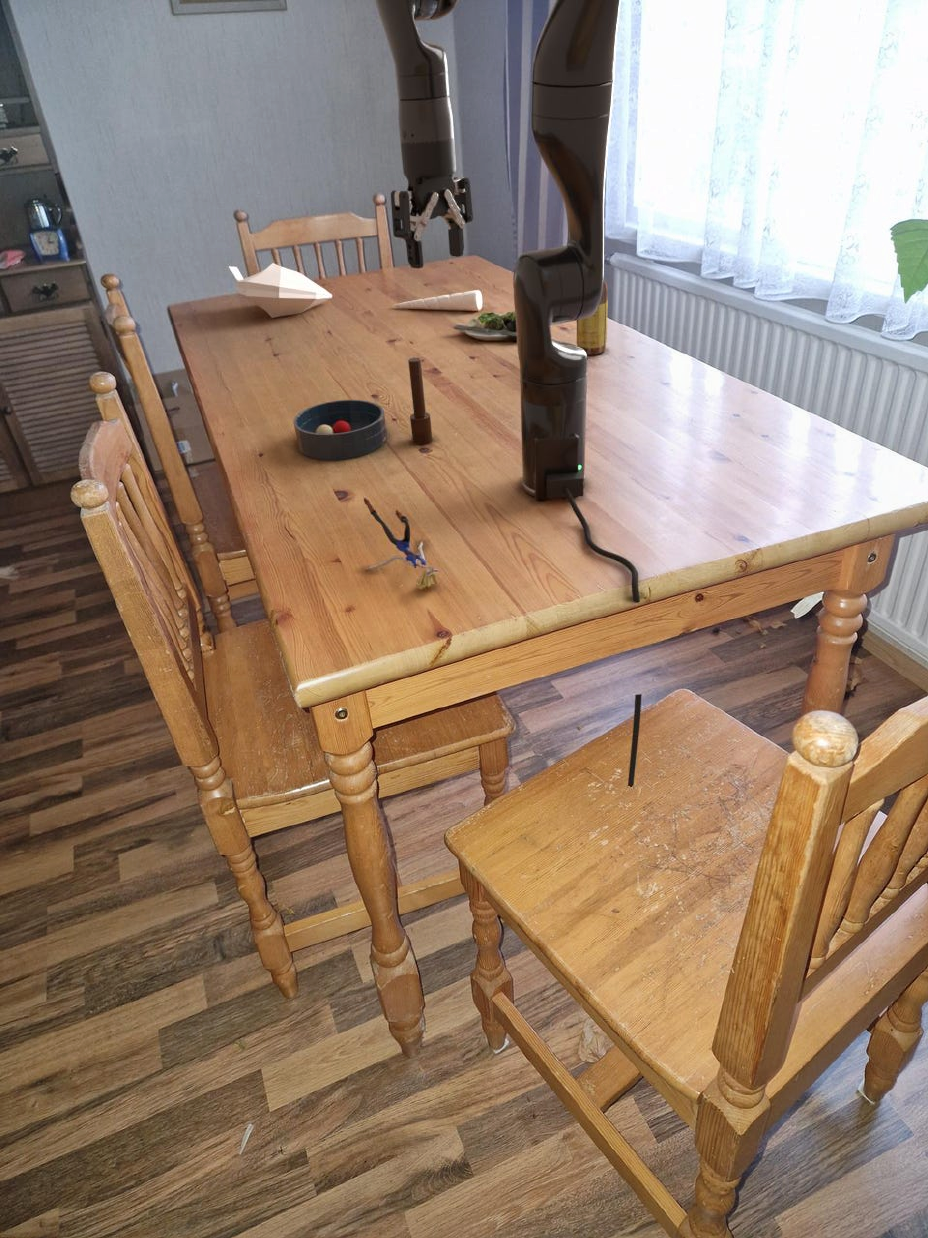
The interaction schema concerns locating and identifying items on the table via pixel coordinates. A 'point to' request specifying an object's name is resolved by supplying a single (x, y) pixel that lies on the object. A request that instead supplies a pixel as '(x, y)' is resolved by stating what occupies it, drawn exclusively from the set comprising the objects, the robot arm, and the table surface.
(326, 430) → the cream ball
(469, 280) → the table surface
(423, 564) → the figurine
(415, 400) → the brown stepped wooden peg
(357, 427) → the bowl
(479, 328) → the salad plate
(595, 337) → the sauce bottle
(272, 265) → the white faceted piece
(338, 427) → the red ball
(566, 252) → the robot arm
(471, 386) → the table surface
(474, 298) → the unicorn horn
